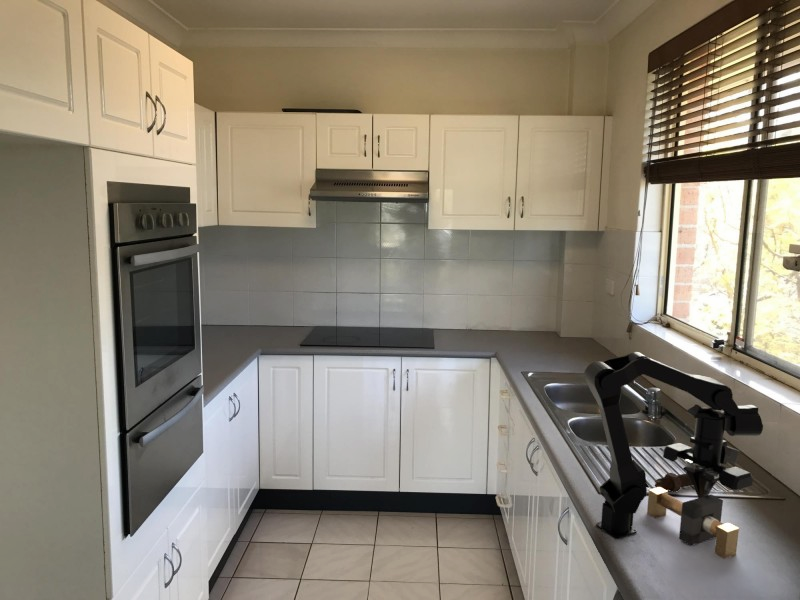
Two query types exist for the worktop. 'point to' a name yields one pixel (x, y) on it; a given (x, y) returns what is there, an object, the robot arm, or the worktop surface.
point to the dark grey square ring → (698, 518)
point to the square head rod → (723, 532)
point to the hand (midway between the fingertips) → (702, 500)
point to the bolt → (673, 482)
